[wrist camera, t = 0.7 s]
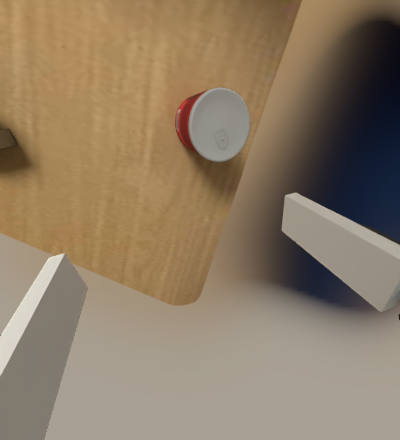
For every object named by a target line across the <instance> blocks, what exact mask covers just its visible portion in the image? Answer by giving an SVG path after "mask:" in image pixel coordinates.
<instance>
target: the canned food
mask: <svg viewBox="0 0 400 440" xmlns="http://www.w3.org/2000/svg"><path fill="white" fill-rule="evenodd" d="M175 127H176V131H177V134H178V137H179V138H180V140H181V141H182V143H183V144H184V145H186V146H187V147H188V148H190V149H191V150H193V151H194V152H196V153H197V154H199V155H200V156H202V157H204V158H205V159H208V160H210V161H215V162H223V161H227V160H229V159H231V158H233V157H234V156H236V155H237V154H238V153H239V152H240V151H241V150H242V148H243V147H244V145H245V143H246V141H247V139H248V135H249V131H250V116H249V111H248V108H247V106H246V104H245V102H244V100H243V99H242V98H241V97H240V96H239V95H238V94H237V93H236V92H234V91H233V90H230V89H227V88H213V89H210V90H207V91H204V92H201V93H199V94H196V95H194V96H191V97H189V98H187V99H186V100H185V101H183V102H182V104H181V105H180V107H179V108H178V110H177V114H176V119H175Z"/></svg>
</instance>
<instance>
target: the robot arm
mask: <svg viewBox="0 0 400 440" xmlns="http://www.w3.org/2000/svg"><path fill="white" fill-rule="evenodd" d="M282 231H283V232H284V233H285V234H286V235H288V236H289V237H290V238H291V239H292V240H294V241H295V242H296V243H297V244H298V245H300V246H301V247H302V248H303V249H305V250H306V251H307V252H308V253H309V254H311V255H312V256H313V257H314V258H316V259H317V260H318V261H319V262H320V263H322V264H323V265H324V266H325V267H326V268H328V269H329V270H330V271H331V272H333V273H334V274H335V275H336V276H337V277H339V278H340V279H341V280H342V281H343V282H345V283H346V284H347V285H348V286H350V287H351V288H352V289H353V290H355V291H356V292H357V293H358V294H360V295H361V296H362V297H363V298H364V299H365V300H367V301H368V302H369V303H370V304H372V305H373V306H374V307H375V308H376V309H378V310H379V311H380V312H382V311H385V310H387V309H389V308H392V307H394V306H396V304H397V302H398V301H399V299H400V241H397V240H395V239H394V238H393V239H392V238H391V237H390V236H388V235H385V234H382V233H381V232H379V231H377V230H375V229H373V228H371V227H368V226H365V225H362V224H359V223H355V222H353V221H351V220H349V219H347V218H345V217H343V216H341V215H339V214H337V213H335V212H333V211H331V210H329V209H327V208H325V207H323V206H321V205H319V204H317V203H315V202H313V201H311V200H309V199H307V198H305V197H303V196H301V195H299V194H297V193H292V194H288V195H285V202H284V212H283V222H282ZM87 290H88V287H87V286H86V284H85V283H84V281H83V280H82V278H81V277H80V275H79V274H78V272H77V271H76V269H75V268H74V266H73V265H72V263H71V262H70V260H69V259H68V257H67V256H66V254H65V253H64V254H60V255H57V256H53V257H49V259H48V260H47V262H46V263H45V265H44V267H43V268H42V270H41V271H40V273H39V275H38V276H37V278H36V280H35V281H34V283H33V284H32V286H31V288H30V289H29V291H28V292H27V294H26V296H25V297H24V299H23V301H22V302H21V304H20V305H19V307H18V309H17V310H16V312H15V313H14V315H13V317H12V318H11V320H10V322H9V323H8V325H7V326H6V328H5V329H4V331H3V333H2V334H1V335H0V440H44V438H45V435H46V432H47V428H48V425H49V421H50V418H51V414H52V411H53V407H54V404H55V400H56V397H57V393H58V390H59V386H60V383H61V379H62V376H63V372H64V369H65V366H66V362H67V359H68V355H69V352H70V349H71V345H72V342H73V338H74V335H75V331H76V328H77V324H78V320H79V317H80V314H81V310H82V307H83V304H84V300H85V297H86V293H87ZM399 320H400V314H399Z"/></svg>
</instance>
